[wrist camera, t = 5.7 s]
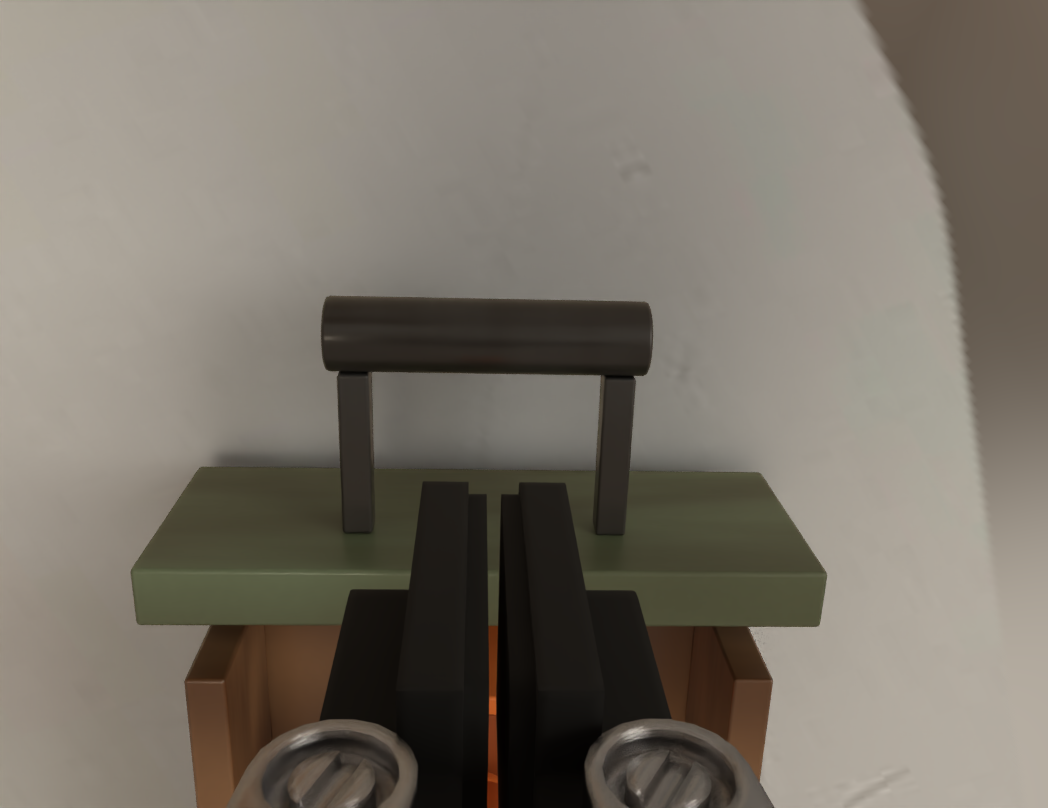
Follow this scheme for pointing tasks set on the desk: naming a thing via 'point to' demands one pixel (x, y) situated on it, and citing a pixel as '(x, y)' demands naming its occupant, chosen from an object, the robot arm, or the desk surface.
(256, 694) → the drawer
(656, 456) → the desk surface
